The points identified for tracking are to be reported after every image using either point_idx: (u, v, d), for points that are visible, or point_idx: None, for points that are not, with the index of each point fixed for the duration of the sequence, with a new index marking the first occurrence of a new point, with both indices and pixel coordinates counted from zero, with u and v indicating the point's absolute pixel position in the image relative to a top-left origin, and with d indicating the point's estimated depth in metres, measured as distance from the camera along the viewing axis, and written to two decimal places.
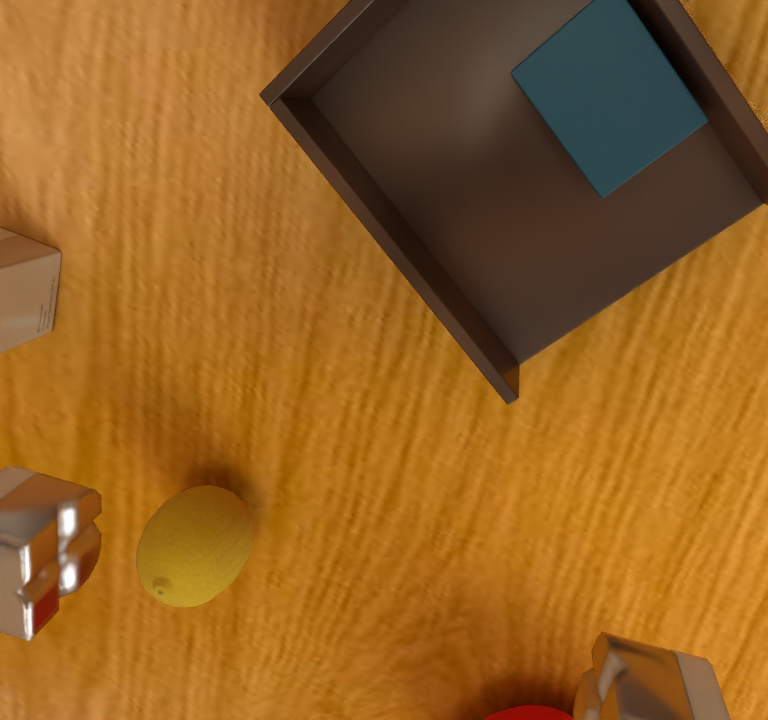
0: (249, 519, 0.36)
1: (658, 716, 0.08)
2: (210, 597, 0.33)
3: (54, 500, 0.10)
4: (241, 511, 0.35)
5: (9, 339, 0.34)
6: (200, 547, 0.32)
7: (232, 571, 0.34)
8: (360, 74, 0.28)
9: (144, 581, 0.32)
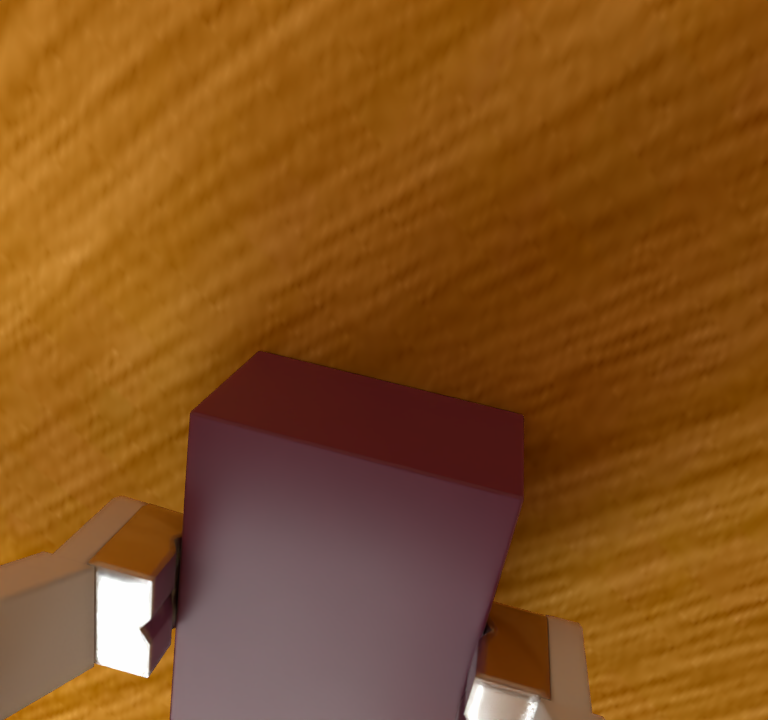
0: None
1: (515, 674, 0.08)
2: None
3: (169, 533, 0.10)
4: None
5: None
6: None
7: None
8: None
9: None
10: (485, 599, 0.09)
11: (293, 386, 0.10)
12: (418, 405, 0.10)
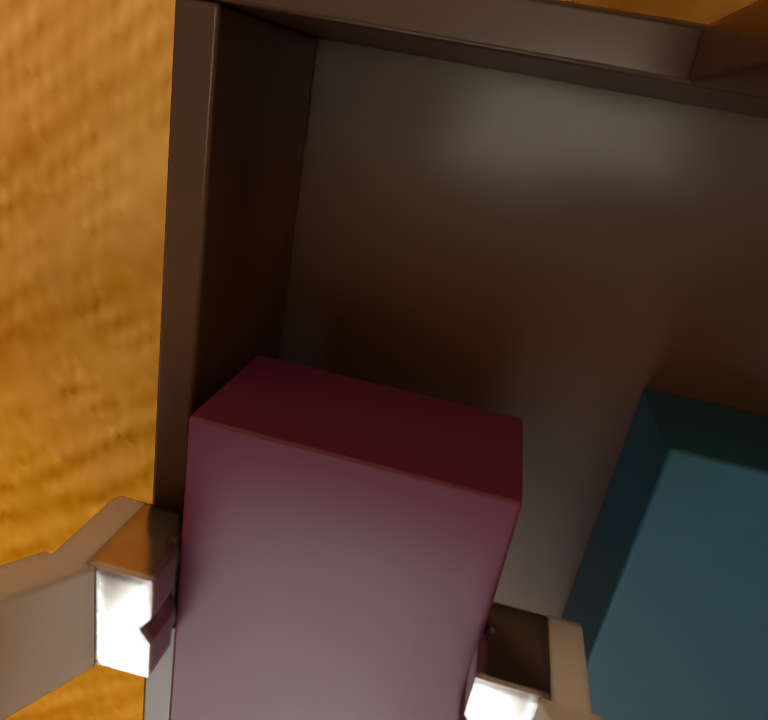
0: None
1: (515, 674, 0.08)
2: None
3: (169, 533, 0.10)
4: None
5: None
6: None
7: None
8: (441, 107, 0.11)
9: None
10: (484, 603, 0.09)
11: (292, 390, 0.10)
12: (417, 410, 0.10)
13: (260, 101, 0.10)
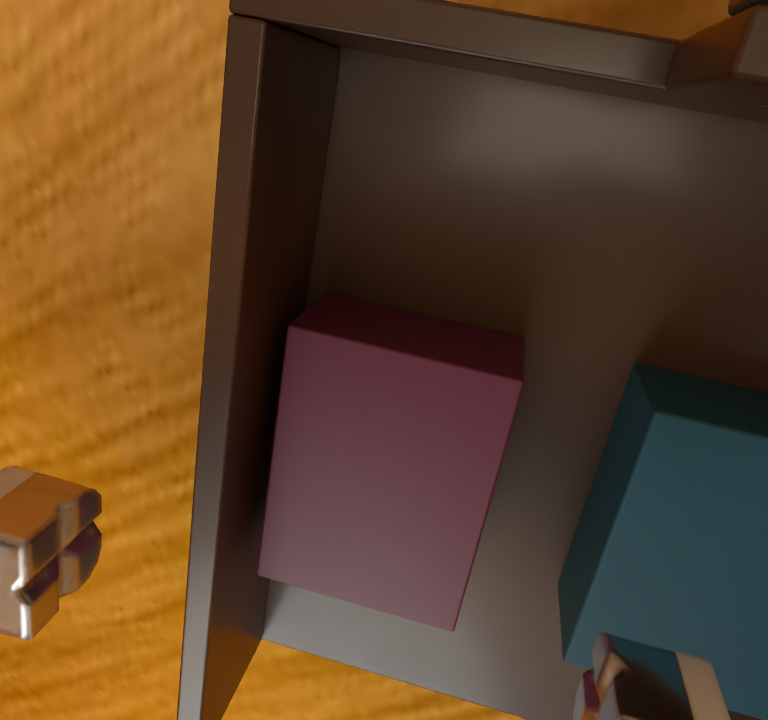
0: None
1: (658, 716, 0.08)
2: None
3: (54, 500, 0.10)
4: None
5: None
6: None
7: None
8: (452, 109, 0.13)
9: None
10: (496, 459, 0.12)
11: (355, 314, 0.14)
12: (446, 329, 0.14)
13: (294, 104, 0.11)
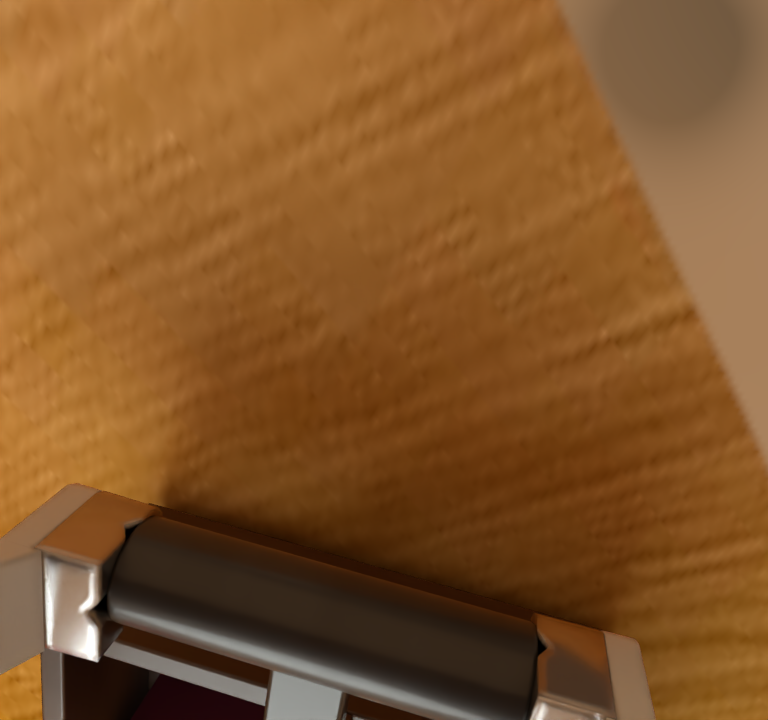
0: None
1: (578, 693, 0.08)
2: None
3: (120, 519, 0.10)
4: None
5: None
6: None
7: None
8: None
9: None
10: None
11: (173, 709, 0.19)
12: (240, 717, 0.19)
13: None
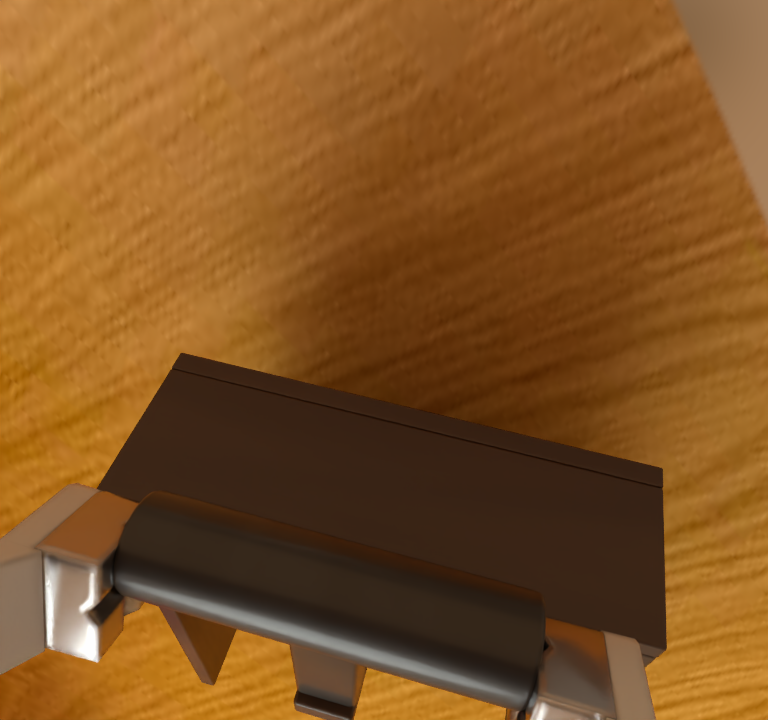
0: None
1: (578, 693, 0.08)
2: None
3: (120, 519, 0.10)
4: None
5: None
6: None
7: None
8: None
9: None
10: None
11: None
12: None
13: None
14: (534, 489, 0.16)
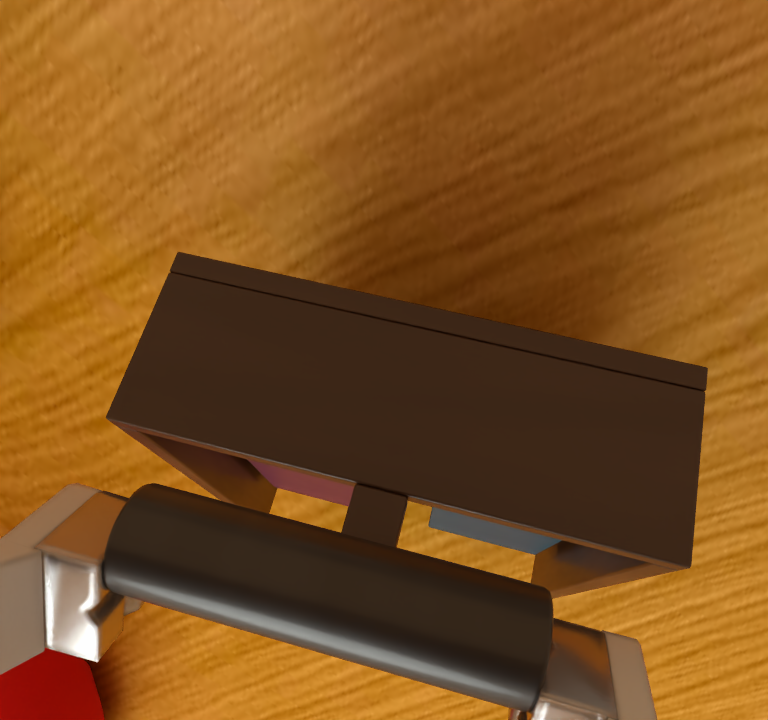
0: None
1: (579, 693, 0.08)
2: None
3: None
4: None
5: None
6: None
7: None
8: None
9: None
10: None
11: None
12: None
13: None
14: (562, 398, 0.15)
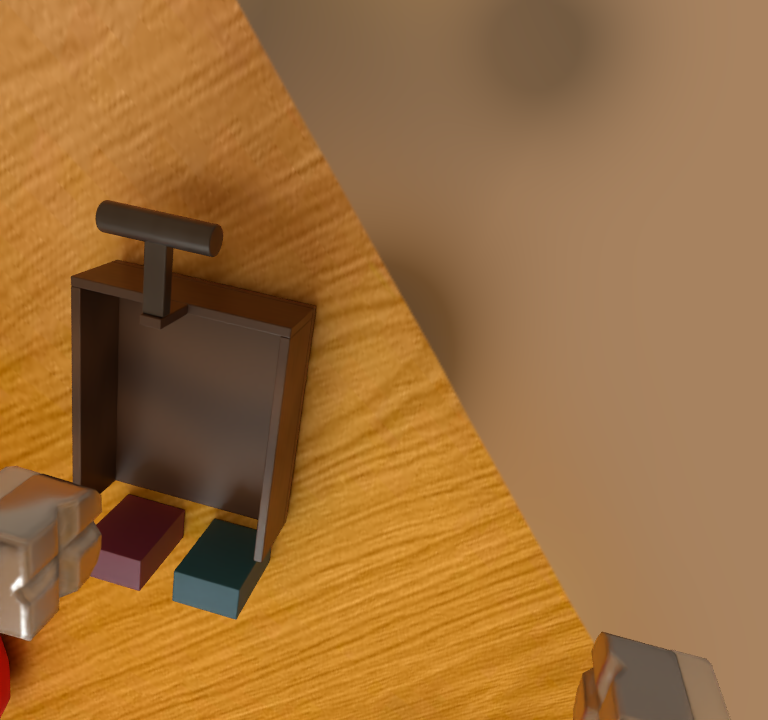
0: None
1: (658, 716, 0.08)
2: None
3: (54, 500, 0.10)
4: None
5: None
6: None
7: None
8: None
9: None
10: (151, 574, 0.45)
11: None
12: (117, 562, 0.43)
13: (96, 299, 0.39)
14: (258, 301, 0.39)
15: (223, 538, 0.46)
